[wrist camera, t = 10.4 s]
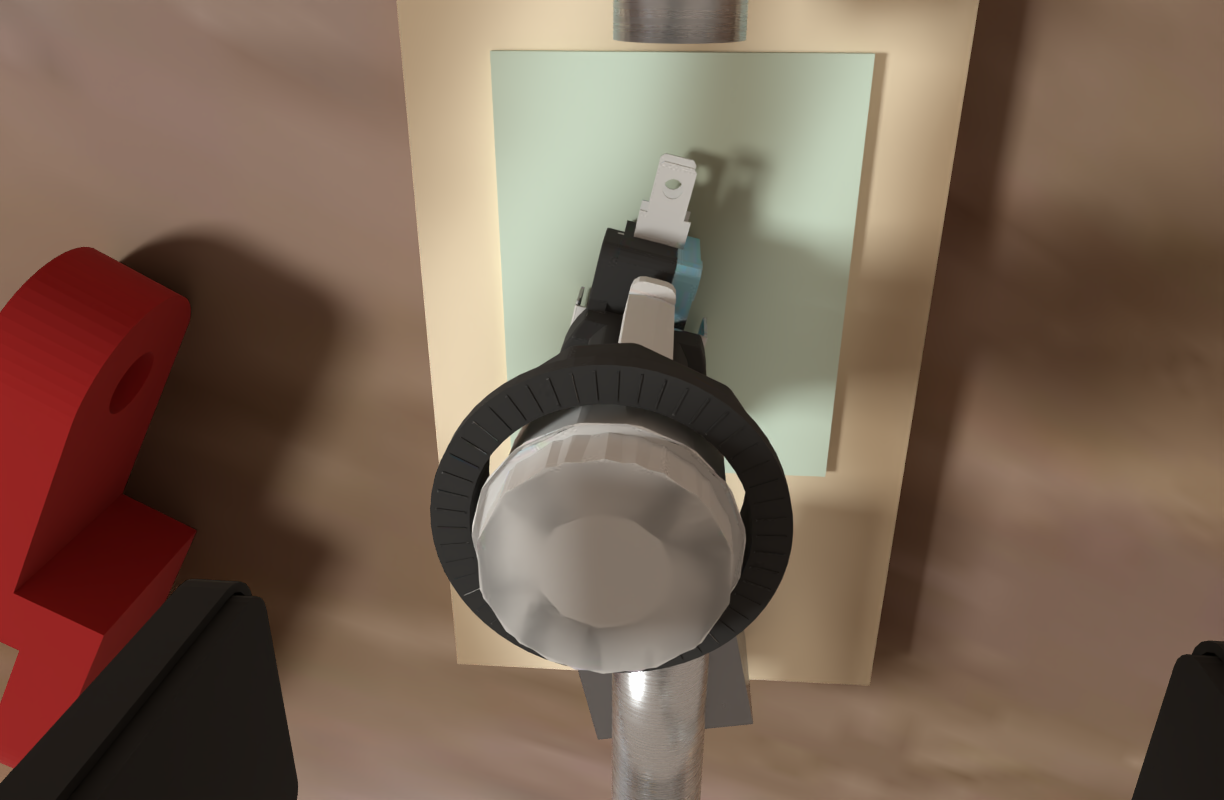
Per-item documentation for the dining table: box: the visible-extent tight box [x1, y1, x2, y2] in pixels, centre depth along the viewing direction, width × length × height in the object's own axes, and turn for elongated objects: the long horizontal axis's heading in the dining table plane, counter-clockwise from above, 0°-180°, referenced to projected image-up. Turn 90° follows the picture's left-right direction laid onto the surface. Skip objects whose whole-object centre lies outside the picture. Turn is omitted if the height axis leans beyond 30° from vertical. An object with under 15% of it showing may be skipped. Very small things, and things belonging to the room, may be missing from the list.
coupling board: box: [396, 0, 979, 686], centre depth 22 cm, size 12×24×2 cm, turn 0°
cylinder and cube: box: [578, 0, 753, 800], centre depth 19 cm, size 5×25×5 cm, turn 0°
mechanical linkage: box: [0, 247, 197, 768], centre depth 25 cm, size 16×7×5 cm, turn 150°
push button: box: [430, 153, 793, 674], centre depth 17 cm, size 7×5×10 cm
